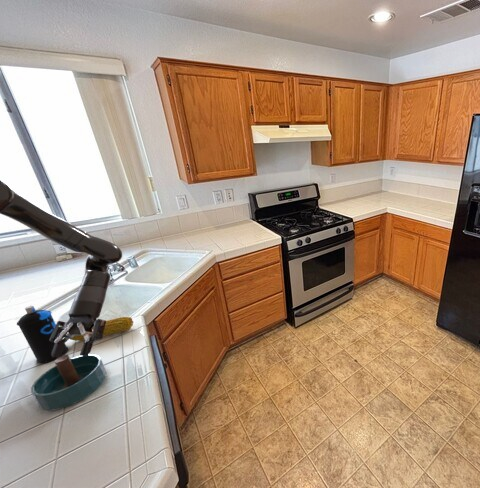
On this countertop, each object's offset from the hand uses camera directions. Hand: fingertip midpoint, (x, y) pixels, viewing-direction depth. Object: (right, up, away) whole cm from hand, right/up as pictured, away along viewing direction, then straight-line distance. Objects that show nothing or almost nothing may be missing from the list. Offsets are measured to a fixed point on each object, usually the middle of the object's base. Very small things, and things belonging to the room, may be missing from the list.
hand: (69, 356), depth 78 cm
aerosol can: (-22, -7, +16) cm, 28 cm away
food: (-11, -3, +25) cm, 28 cm away
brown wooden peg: (+1, -10, +1) cm, 10 cm away
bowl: (+1, -10, +1) cm, 10 cm away
